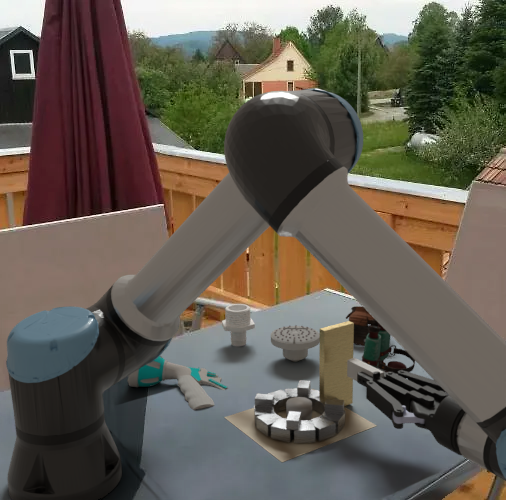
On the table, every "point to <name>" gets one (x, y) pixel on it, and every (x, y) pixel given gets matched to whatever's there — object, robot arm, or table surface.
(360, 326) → the brown leather pouch
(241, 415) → the base
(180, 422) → the table surface
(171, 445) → the table surface
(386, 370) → the binoculars
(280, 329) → the showerhead
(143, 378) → the garden hose nozzle
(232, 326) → the pipe fitting
